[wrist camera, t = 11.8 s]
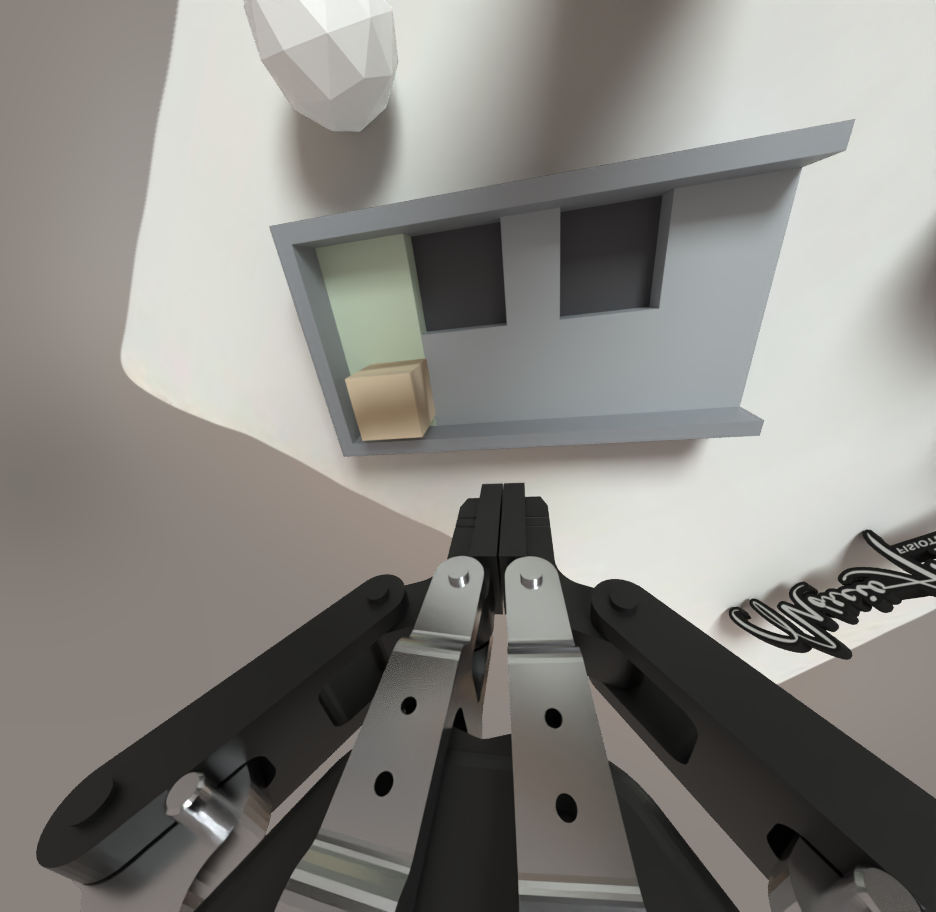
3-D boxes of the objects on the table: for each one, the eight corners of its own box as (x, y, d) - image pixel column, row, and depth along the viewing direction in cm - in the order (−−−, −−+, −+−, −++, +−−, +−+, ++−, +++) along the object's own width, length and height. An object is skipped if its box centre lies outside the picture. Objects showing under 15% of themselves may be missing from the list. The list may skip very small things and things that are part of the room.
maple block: (370, 364, 29) (344, 379, 25) (426, 358, 28) (409, 373, 24) (384, 418, 31) (362, 440, 27) (435, 414, 30) (422, 437, 26)
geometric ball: (415, -12, 20) (361, -166, 13) (409, 159, 24) (364, 109, 17) (295, -25, 21) (180, -181, 14) (308, 145, 24) (224, 92, 17)
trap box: (313, 235, 27) (269, 226, 22) (779, 154, 22) (855, 119, 17) (367, 432, 35) (343, 456, 30) (719, 409, 29) (759, 435, 25)
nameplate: (726, 587, 43) (757, 673, 35) (717, 582, 43) (747, 667, 35) (1087, 466, 25) (1304, 588, 18) (1075, 455, 25) (1290, 574, 17)
